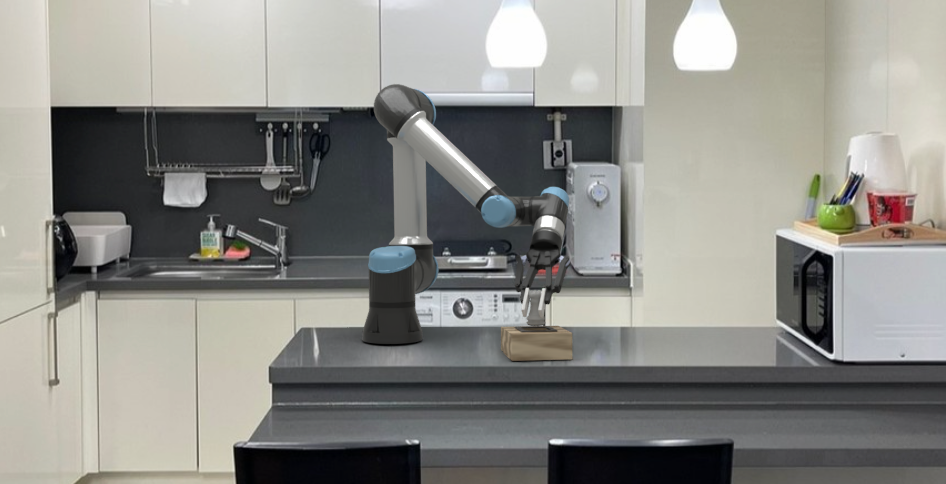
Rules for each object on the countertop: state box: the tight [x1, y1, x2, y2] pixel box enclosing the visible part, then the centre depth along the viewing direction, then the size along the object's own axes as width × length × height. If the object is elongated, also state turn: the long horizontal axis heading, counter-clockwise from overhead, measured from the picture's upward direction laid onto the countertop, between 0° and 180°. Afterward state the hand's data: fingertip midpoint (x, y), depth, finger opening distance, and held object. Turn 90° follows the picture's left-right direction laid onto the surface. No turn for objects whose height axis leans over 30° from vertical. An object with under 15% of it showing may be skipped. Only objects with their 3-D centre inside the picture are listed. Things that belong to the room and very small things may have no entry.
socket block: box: [500, 325, 573, 362], centre depth 225 cm, size 14×14×6 cm
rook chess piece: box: [525, 289, 546, 326], centre depth 224 cm, size 4×4×8 cm
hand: (532, 313), depth 221 cm, fingers closed on rook chess piece, 3 cm apart
